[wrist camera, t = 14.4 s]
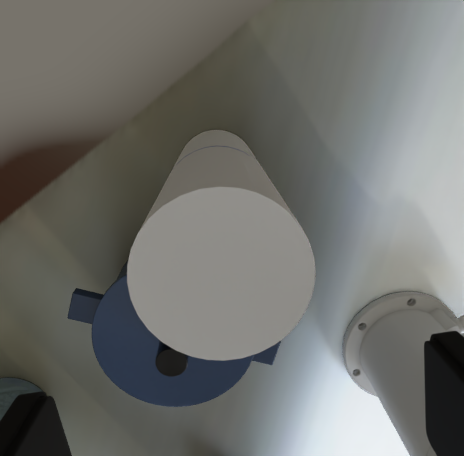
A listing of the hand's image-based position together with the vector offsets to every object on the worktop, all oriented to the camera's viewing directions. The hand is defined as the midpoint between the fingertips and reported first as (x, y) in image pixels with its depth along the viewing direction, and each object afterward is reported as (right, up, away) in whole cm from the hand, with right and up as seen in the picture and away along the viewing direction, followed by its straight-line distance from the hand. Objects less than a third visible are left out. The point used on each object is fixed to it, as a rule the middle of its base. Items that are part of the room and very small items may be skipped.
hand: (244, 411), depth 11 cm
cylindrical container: (-2, +10, +30) cm, 31 cm away
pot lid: (-5, -4, +25) cm, 26 cm away
